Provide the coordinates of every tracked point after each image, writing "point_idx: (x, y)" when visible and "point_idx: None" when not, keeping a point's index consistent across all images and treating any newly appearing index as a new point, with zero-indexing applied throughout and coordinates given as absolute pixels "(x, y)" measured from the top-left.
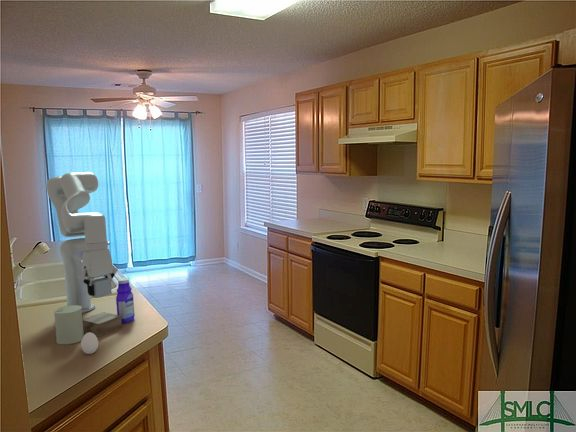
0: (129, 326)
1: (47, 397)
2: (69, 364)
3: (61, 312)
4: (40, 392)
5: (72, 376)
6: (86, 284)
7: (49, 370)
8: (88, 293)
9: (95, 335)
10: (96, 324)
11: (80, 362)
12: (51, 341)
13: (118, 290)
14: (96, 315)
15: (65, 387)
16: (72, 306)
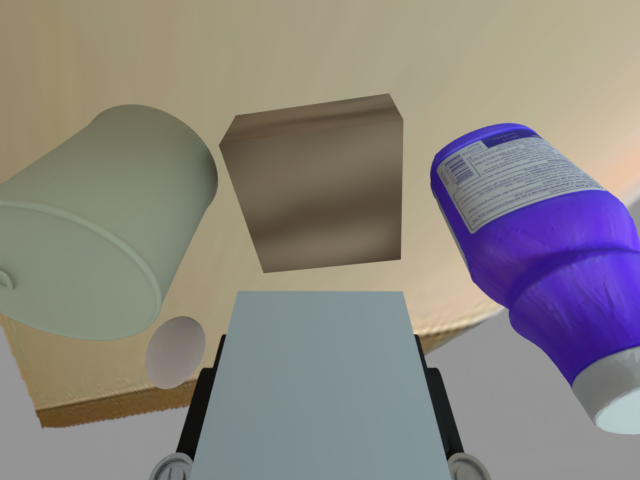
0: (416, 235)
1: (64, 397)
2: None
3: (12, 303)
4: (48, 381)
5: (118, 374)
6: (161, 468)
7: None
8: (205, 368)
9: (189, 375)
10: (259, 256)
11: (148, 341)
12: (59, 113)
13: (521, 316)
14: (326, 146)
15: (99, 392)
16: (97, 250)
